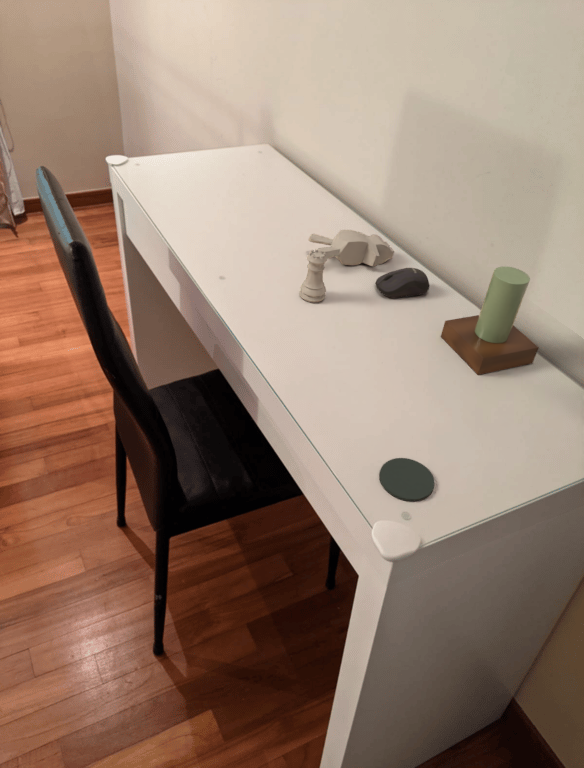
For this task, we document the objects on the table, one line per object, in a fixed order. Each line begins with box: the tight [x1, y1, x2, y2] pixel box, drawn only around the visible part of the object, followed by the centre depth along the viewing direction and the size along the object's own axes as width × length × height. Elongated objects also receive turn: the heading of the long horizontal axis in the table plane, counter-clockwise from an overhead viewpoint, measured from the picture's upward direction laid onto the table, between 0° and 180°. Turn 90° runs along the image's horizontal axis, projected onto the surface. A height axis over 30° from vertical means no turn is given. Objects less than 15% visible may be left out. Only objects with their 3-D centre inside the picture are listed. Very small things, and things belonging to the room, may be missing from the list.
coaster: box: [378, 457, 435, 502], centre depth 71 cm, size 6×6×1 cm
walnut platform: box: [440, 314, 540, 376], centre depth 93 cm, size 10×10×3 cm
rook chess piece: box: [299, 248, 328, 304], centre depth 99 cm, size 4×4×8 cm
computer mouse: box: [374, 267, 430, 299], centre depth 104 cm, size 6×9×4 cm, turn 104°
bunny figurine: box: [308, 229, 395, 267], centre depth 111 cm, size 10×5×15 cm
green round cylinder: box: [475, 266, 531, 343], centre depth 89 cm, size 5×5×10 cm
